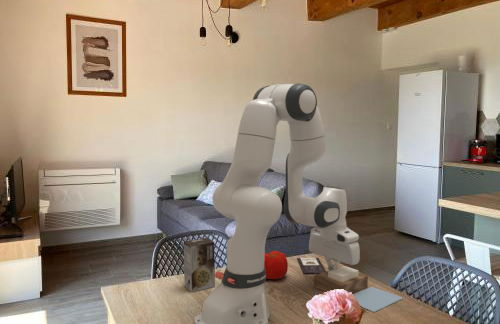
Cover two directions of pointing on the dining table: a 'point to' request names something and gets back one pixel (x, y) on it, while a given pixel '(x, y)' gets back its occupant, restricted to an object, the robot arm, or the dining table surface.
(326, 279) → the brown wooden box
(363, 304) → the mat
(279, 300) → the dining table surface
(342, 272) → the cream slab
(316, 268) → the chocolate bar
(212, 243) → the coffee box
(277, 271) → the tomato
